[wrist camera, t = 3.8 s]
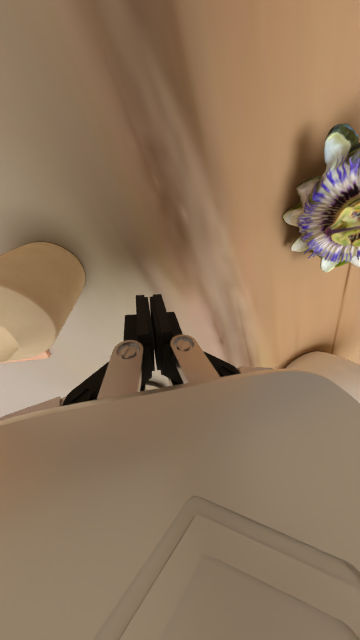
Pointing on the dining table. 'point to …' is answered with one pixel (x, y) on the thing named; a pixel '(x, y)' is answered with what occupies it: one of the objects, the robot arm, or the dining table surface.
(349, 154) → the passion flower
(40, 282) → the candle
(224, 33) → the dining table surface
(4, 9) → the dining table surface
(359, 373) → the pitcher
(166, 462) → the robot arm
